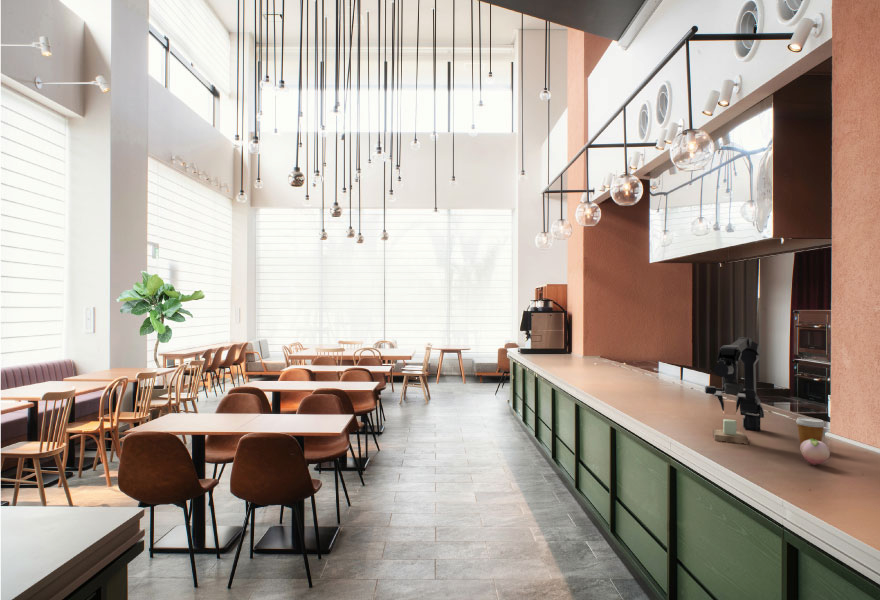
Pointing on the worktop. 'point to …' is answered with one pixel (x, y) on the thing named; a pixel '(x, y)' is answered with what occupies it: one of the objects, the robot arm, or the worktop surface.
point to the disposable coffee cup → (809, 428)
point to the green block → (729, 426)
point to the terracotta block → (729, 407)
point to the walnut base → (730, 436)
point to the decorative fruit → (814, 451)
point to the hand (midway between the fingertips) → (729, 411)
